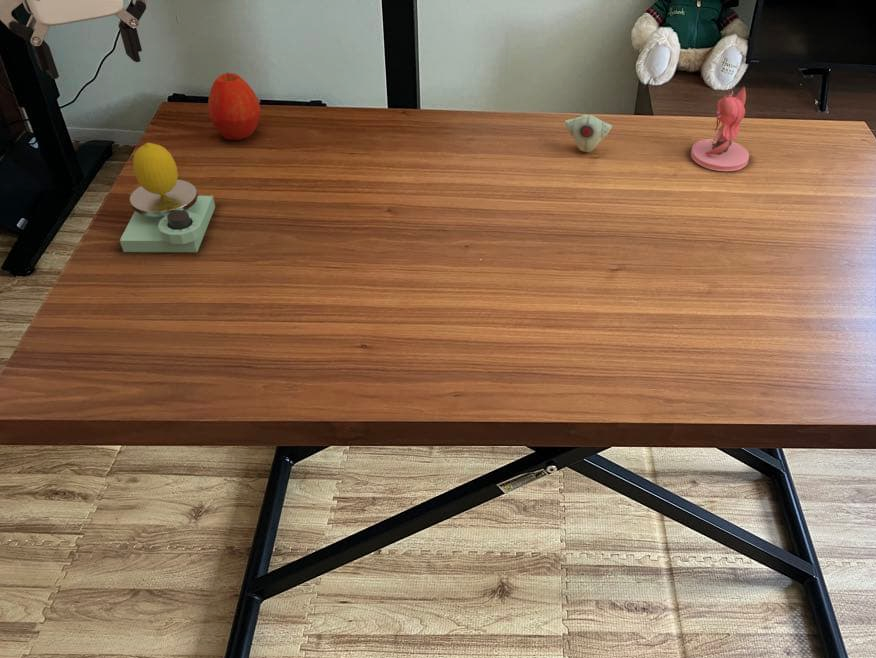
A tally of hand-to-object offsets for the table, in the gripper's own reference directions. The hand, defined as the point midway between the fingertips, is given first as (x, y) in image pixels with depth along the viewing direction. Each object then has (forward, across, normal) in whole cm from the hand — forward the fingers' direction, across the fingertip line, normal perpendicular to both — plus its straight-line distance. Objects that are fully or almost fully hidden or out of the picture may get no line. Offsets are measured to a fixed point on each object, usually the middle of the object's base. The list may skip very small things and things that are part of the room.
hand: (94, 66), depth 106 cm
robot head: (+24, -69, +16) cm, 74 cm away
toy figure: (+24, -87, +30) cm, 95 cm away
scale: (+24, -4, -1) cm, 25 cm away
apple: (+24, -24, -22) cm, 40 cm away
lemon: (+20, -4, -2) cm, 21 cm away
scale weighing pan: (+21, -5, -2) cm, 22 cm away
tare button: (+21, -4, +4) cm, 22 cm away
